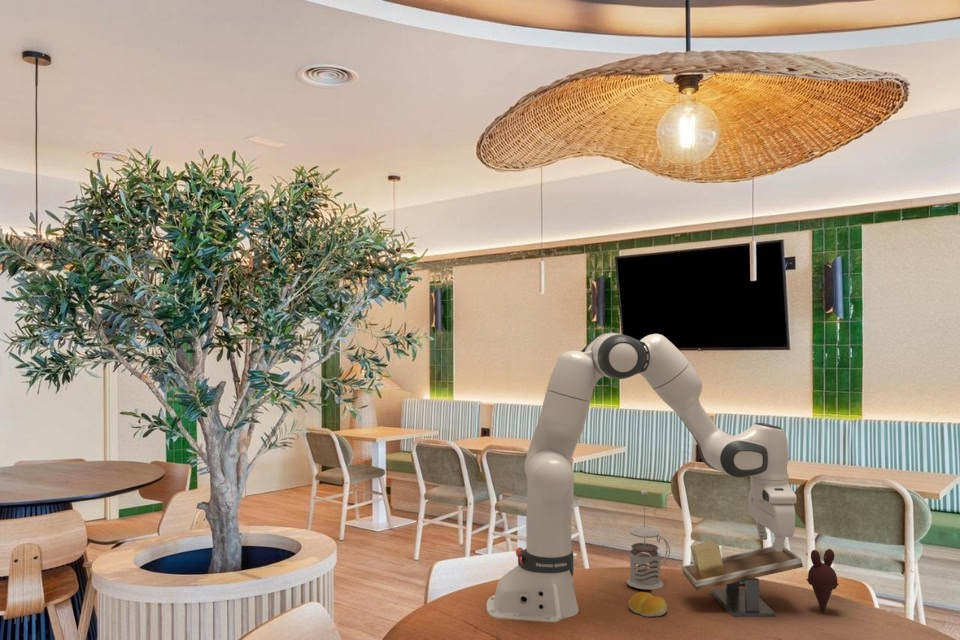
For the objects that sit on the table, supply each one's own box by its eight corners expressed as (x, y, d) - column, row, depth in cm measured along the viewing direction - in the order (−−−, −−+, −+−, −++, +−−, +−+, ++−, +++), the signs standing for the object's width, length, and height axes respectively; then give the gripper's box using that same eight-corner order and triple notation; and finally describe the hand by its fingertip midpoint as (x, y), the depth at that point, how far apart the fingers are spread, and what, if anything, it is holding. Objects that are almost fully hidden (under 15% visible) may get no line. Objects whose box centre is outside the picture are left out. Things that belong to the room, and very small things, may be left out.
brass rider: (701, 578, 172) (694, 550, 172) (696, 573, 176) (690, 546, 176) (725, 573, 172) (718, 545, 172) (719, 568, 176) (713, 540, 176)
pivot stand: (733, 618, 166) (732, 580, 166) (711, 593, 181) (711, 559, 182) (775, 618, 165) (775, 580, 166) (750, 593, 181) (749, 559, 182)
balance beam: (698, 596, 168) (695, 582, 168) (684, 579, 179) (681, 566, 180) (804, 572, 168) (801, 558, 168) (783, 556, 179) (780, 544, 179)
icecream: (827, 605, 173) (826, 544, 174) (846, 617, 166) (845, 553, 166) (800, 606, 172) (799, 545, 173) (818, 618, 165) (817, 554, 165)
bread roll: (653, 620, 163) (652, 603, 163) (623, 611, 170) (622, 594, 170) (675, 610, 168) (674, 593, 169) (645, 601, 175) (644, 585, 175)
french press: (621, 577, 194) (621, 486, 194) (662, 575, 195) (661, 485, 195) (633, 590, 184) (632, 494, 184) (675, 588, 185) (675, 493, 186)
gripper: (741, 479, 184) (742, 532, 184) (773, 498, 164) (773, 557, 164) (765, 479, 184) (766, 532, 184) (800, 498, 164) (800, 557, 164)
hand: (770, 544), depth 174 cm, fingers open, 8 cm apart
